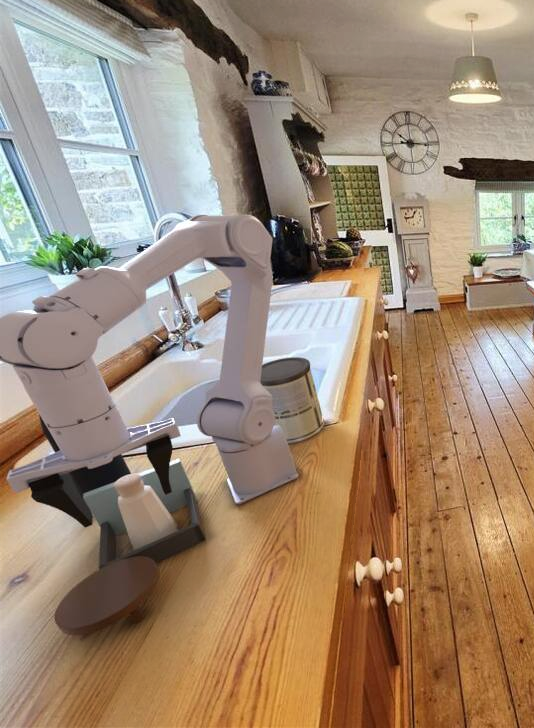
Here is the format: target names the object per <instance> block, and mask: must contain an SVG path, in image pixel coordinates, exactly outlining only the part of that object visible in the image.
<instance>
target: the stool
mask: <svg viewBox="0 0 534 728" xmlns="http://www.w3.org/2000/svg"><path fill="white" fill-rule="evenodd" d="M160 577H161V570H160V568H159V566H158V563H155V561H154V560H153V559H151V558H149V557H143V556H138V557H131V558H126V559H123V560H120V561H117V562H114V563H112V564H110V565H107V566H105V567H103V568H101V569H100V570H99V569H97V570H96V571H94V572H92V573H91V574H89V575H88V576H87V577H85V578H84V579H82V580H81V581H80V582H78V583H77V584H76V585H75V586H74V587H72V589H70V591H68V592H67V593H66V594H65V595H64V597H63V598H62V599H61V601H60V602H59V603H58V605H57V607H56V609H55V612H54V617H53V618H54V622H55V624H56V626H57V627H58V629H59V630H60V631H61V632H62V633H64V634H66V635H68V636H82V635H88V634H92V633H95V632H99V631H100V630H103V629H105V628H107V627H110V626H111V625H113V624H116V623H117V622H119V621H120V620H122V619H123V618H125V617H127V616H129V617H130V619H131V620H132V623H134V624H137V623H139V622H141V621H142V620H143V619H144V618H145V614H144V612H143V611H142V609H141V607H140V606H141V605H142V604H143V603H144V602H146V600H147V599H148V598H149V597H150V595H152V593H153V592H154V590H155V589H156V587H157V585H158V583H159V581H160Z"/></svg>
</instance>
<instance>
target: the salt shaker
mask: <svg viewBox="0 0 534 728" xmlns="http://www.w3.org/2000/svg"><path fill="white" fill-rule="evenodd" d="M114 488H115V489H116V490H117V492H118V494H119V495H120V496H119V497H118V505H119V509H120V512H121V515H122V518H123V521H124V523H125V526H126V529H127V532H126V533H127V536H128V538H129V541H130V544H131V546H132V549H133V550H132V551H134V550H136V549H139V548H141V547H143V546H145V545H147V544H150V543H152V542H154V541H156V540H158V539H161V538H163V537H165V536H167V535H169V534H172V533H174V532H176V531H178V530H179V527H178V523H177V522H176V520H175V519H174V517H173V516H172V515H171V513H169V512H168V510H167V509H166V508H165V506H164V505H163V503H162V502H161V500H160V499H159V498H158V496H157V495H156V493H155V492H154V490H153V489H152V488H151V487H150V486H146V485H144V484H143V481H142V479H141V475H140V474H138V473H136V472H135V473H131V474H129V475H126V476H124V477H122V478H120V479H118V480H117V481H116V482H115V484H114Z"/></svg>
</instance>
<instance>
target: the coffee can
mask: <svg viewBox="0 0 534 728" xmlns="http://www.w3.org/2000/svg"><path fill="white" fill-rule="evenodd" d="M260 383H261V384H262V385H263V386H264V388H265V389H266V390H267V391H268V392H269V393H270V394H271V395H272V397H273V400H272V408H273V412H274V415H275V423H274V426H275V425H279V426H280V427H281V428H282V430H283V432H284V435H285V437H286V439H287V442H288V445H289V444H294V443H300V442H302V441H305V440H308V439H310V438H312V437H314V436H315V435H316V434H318V433H320V431H321V430H322V429H323V428H324V426H325V419H324V418H323V422H322V416H323V412H322V409H321V405H320V400H319V397H318V392H317V389H316V385H315V381H314V378H313V373H312V370H311V362H310V361H309V359H307V358H305V357H298V356H297V357H296V356H295V357H291V356H290V357H284V358H279V359H275V360H272V361H268V362H265V363H262V372H261V380H260Z"/></svg>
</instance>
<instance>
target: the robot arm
mask: <svg viewBox="0 0 534 728" xmlns="http://www.w3.org/2000/svg"><path fill="white" fill-rule="evenodd" d="M273 239H274V238H273V237H272V235H271V234H270V232H269V231H268V229H267V228H266V227H265V226H264V224H263V223H262V222H261V221H260V219H258V218H257V217H255V216H253V215H251V214H247V213H245V214H237V215H207V214H196V215H193V216H191V217H190V218H189V219H188V220H185V221H182V222H180V223H177V224H176V226H175V227H174V229H173V230H171V231H170V232H168V233H167V234H166V235H164V236H163V237H161V238H160V239H159V240H158V241H156V242H154V243H153V244H152V245H150V246H149V247H147V248H146V249H145V250H143V251H142V252H141V253H139V254H137V255H136V256H135V257H133V258H132V259H131V260H129V261H128V262H126V263H124V264H123V265H122V266H120V267H119V268H116V267H110V266H98V267H96V268H93V267H92V268H91V267H83V268H82V269H81V270H79V271H77V272H75V276H76V277H77V278H78V279H76V280H74V281H73V282H71V283H70V284H68V285H66V286H64V287H63V288H61V289H59V290H58V291H56V292H54V293H53V294H51V295H50V296H46V295H40V296H39V297H37V298H35V299H33V300H32V302H31V303H32V304H33V305H34V306H33V309H32V310H20V311H19V310H17V311H13V312H10V313H7V314H5V315H2V316H1V317H0V362H2V363H4V364H8V365H11V366H12V368H13V370H14V371H15V373H16V375H17V376H18V378H19V380H20V382H21V383H22V386H23V387H24V390H25V392H26V393H27V395H28V397H29V399H30V401H31V402H32V404H33V405H34V407H35V409H36V411H37V413H38V415H39V414H40V416H41V418H42V419H43V421H44V423H45V425H46V426H47V428H48V430H49V431H50V433H51V435H52V437H53V438H54V440H55V442H56V443H57V445H58V447H59V449H60V451H58V452H53V453H51V454H49V455H45V456H44V457H41V458H39V459H37V460H33V461H32V462H29V463H27V464H24V465H21V466H18V467H16V468H13V469H10V470H9V471H8V473H7V475H6V482H7V483H8V485H9V486H10V488H11V489H12V491H13V492H14V494H18V493H21V492H23V491H26V490H28V489H30V491H31V496H30V498H32V499H33V501H35V502H36V503H39V504H42V505H45V506H49V507H51V508H54V509H57V510H59V511H61V512H62V513H65V514H67V516H69V517H71V518H73V519H74V520H75V521H77V522H78V523H79V524H80V525H82V527H84V528H88V527H91V526H93V524H94V523H93V522H94V516H93V514H92V512H91V510H90V508H89V507H88V505H87V504H86V503H85V501H84V500H83V498H82V497H81V495H80V494H79V492H78V490H77V488H76V486H75V484H74V482H73V480H72V478H71V476H70V473H69V472H71V471H74V470H76V469H79V468H82V467H88V469H92V468H95V467H98V466H101V465H104V464H107V463H109V462H111V461H112V460H113V457H116V456H118V455H120V454H122V455H123V454H126V453H129V452H131V451H134V450H138V449H141V448H143V447H145V451H146V457H147V459H148V461H149V463H150V464H151V466H152V468H154V469H155V471H156V473H157V475H158V477H159V480H160V483H161V486H162V489H163V491H164V493H165V495H166V494H169V493H171V492H172V489H171V485H170V482H169V466H170V462H171V461H172V460H171V459H172V455H173V448H174V447H173V442H172V440H174V439H176V438H179V437H181V431H180V429H179V427H178V425H177V422H176V419H175V418H174V417H171V418H168V419H165V420H162V421H161V420H160V421H156V422H153V423H146V424H142V425H137V426H132V427H127V425H126V423H125V421H124V419H123V417H122V415H121V412H120V411H119V409H118V407H117V405H116V403H115V401H114V399H113V396H112V395H111V393H110V390H109V388H108V386H107V384H106V382H105V381H104V378H103V376H102V374H101V372H100V370H99V368H98V366H97V364H96V363H95V360H94V358H93V355H94V354H95V352H96V350H97V348H98V341H99V339H100V338H101V337H102V336H103V335H105V334H106V333H107V332H109V331H110V330H112V329H113V328H114V327H116V326H117V325H119V324H120V323H121V322H123V321H124V320H125V319H127V318H129V317H130V316H131V315H133V314H134V313H135V312H136V311H138V310H139V309H141V308H142V307H144V306H145V305H146V303H147V290H148V289H150V288H152V287H153V286H155V285H157V284H159V283H160V282H162V281H163V280H165V279H166V278H169V276H172V275H173V274H175V273H176V272H177V271H179V270H181V269H183V268H185V267H186V266H188V265H189V264H190V263H192V262H194V261H196V260H197V259H203V260H204V261H206V262H208V263H209V264H210V265H212V266H213V267H215V268H216V269H217V270H219V271H220V272H222V274H224V276H225V277H226V278H227V279H228V280H229V282H230V283H231V284H230V291H229V292H230V293H229V300H228V309H227V317H226V325H225V332H224V333H225V334H224V341H223V349H222V356H221V357H222V358H221V364H220V373H219V380H218V382H216V383H215V384H214V385H212V386H211V387H210V388H209V389H208V390H206V392H205V399H204V402H203V404H202V406H201V408H200V409H199V411H198V413H197V416H196V426H197V428H198V431H199V432H200V433H201V434H202V435H204V436H207V437H210V438H211V440H212V441H213V443H214V444H215V445H216V448H217V450H218V453H219V456H220V458H221V461H222V464H223V466H224V469H225V471H226V474H227V479H226V483H227V486H228V488H229V490H230V492H231V496H232V498H233V500H234V503H235V505H236V506H237V505H241V504H244V503H246V502H248V501H250V500H252V499H254V498H256V497H259V496H260V495H264V494H266V493H267V492H269V491H272V490H274V489H277V488H278V487H280V486H283V485H285V484H287V483H289V482H292V481H294V480H296V479H298V478H299V473H298V472H297V468H296V465H295V462H294V458H293V454H292V451H291V448H290V445H289V444H288V442H287V439H286V437H285V435H284V432H283V430H282V428H281V427H280V426H279V425H275V426H274V423H275V415H274V412H273V408H272V400H273V397H272V395H271V394H270V393H269V392H268V391H267V390H266V389H265V388H264V386H263V385H262V384H261V383H260V380H261V372H262V365H263V364H264V363H263V362H264V354H265V345H266V337H267V330H268V322H269V321H268V320H269V311H270V303H271V296H272V288H273V277H274V276H273V270H272V265H271V264H272V263H271V256H272V247H273Z"/></svg>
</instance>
